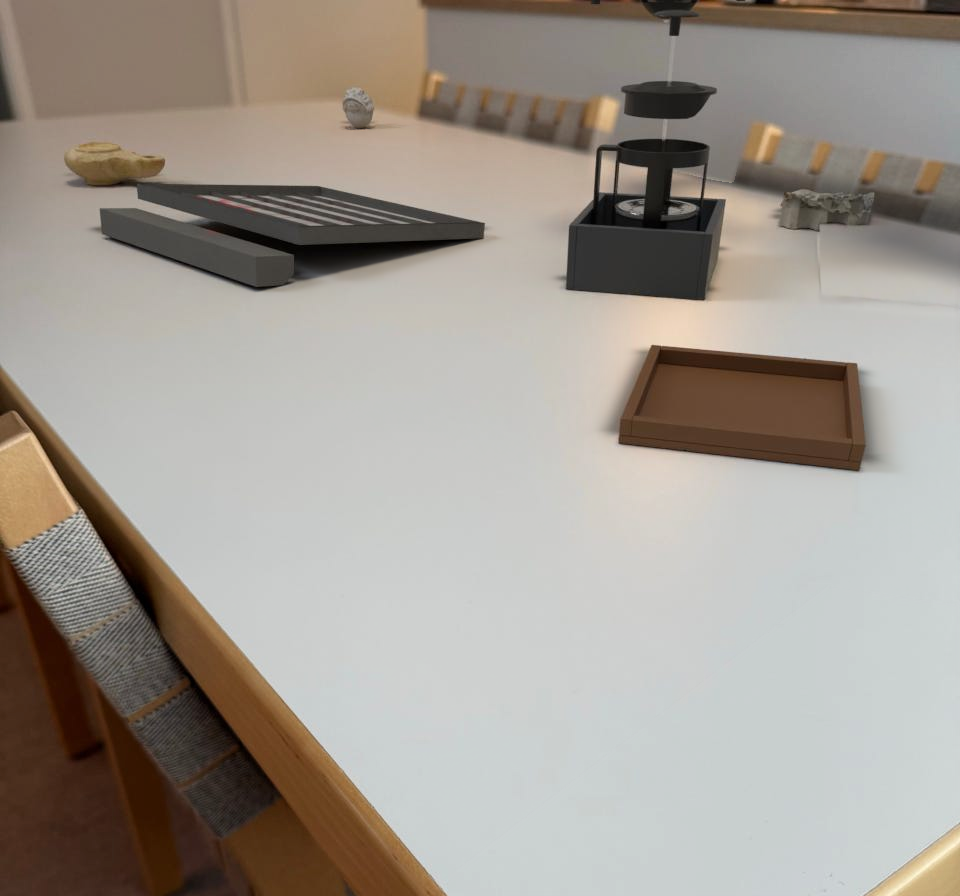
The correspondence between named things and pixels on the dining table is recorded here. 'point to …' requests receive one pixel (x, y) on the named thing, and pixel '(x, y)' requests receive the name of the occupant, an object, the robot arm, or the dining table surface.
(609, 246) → the holder
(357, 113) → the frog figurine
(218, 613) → the dining table surface
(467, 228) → the dark grey wedge stand
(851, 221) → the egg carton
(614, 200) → the french press
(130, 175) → the oil lamp
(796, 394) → the tray
